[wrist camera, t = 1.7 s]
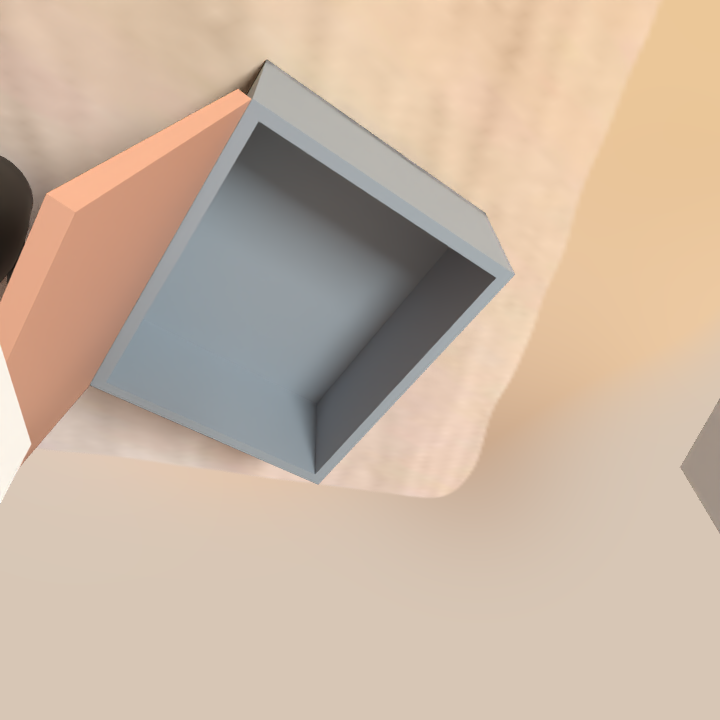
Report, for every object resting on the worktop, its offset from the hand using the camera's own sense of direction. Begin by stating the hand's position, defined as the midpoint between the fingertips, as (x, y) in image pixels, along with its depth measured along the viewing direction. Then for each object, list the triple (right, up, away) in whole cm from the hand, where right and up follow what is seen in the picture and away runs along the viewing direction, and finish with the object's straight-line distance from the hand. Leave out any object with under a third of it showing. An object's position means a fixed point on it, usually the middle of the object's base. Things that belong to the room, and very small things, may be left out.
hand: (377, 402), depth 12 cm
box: (-5, +8, +36) cm, 37 cm away
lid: (-13, +1, +17) cm, 21 cm away
